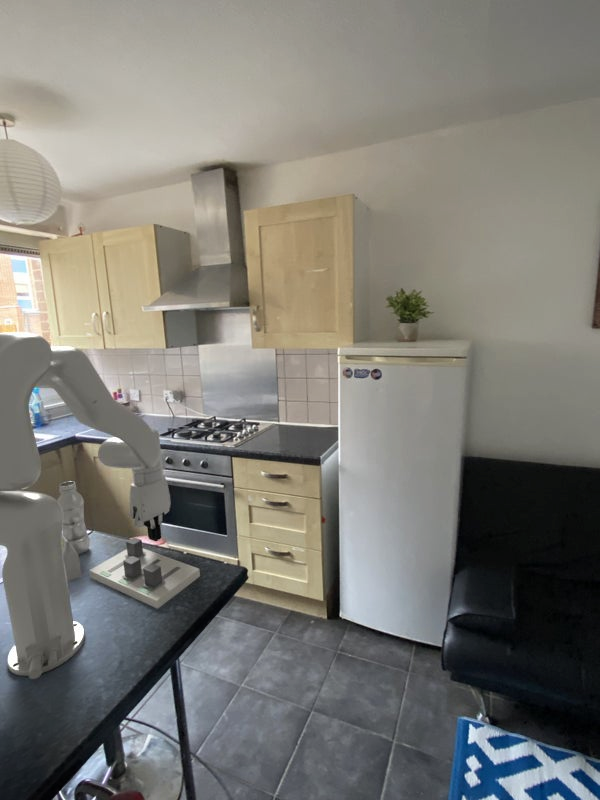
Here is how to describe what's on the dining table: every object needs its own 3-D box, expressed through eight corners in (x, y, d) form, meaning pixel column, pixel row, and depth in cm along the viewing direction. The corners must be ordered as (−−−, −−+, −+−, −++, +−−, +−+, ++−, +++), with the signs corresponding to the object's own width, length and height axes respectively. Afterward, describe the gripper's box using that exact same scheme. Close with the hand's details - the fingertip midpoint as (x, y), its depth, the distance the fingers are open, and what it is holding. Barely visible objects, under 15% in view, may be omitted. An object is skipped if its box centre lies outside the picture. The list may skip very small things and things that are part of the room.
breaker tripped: (145, 553, 106) (144, 539, 105) (134, 560, 103) (132, 545, 102) (136, 549, 108) (135, 535, 107) (124, 556, 105) (123, 542, 104)
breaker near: (165, 581, 94) (163, 565, 93) (152, 590, 91) (150, 574, 90) (154, 577, 96) (152, 561, 95) (141, 585, 93) (140, 569, 92)
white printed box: (74, 565, 106) (69, 529, 104) (81, 576, 101) (76, 539, 99) (58, 571, 104) (52, 534, 102) (64, 582, 99) (58, 545, 97)
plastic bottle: (96, 548, 113) (87, 480, 110) (74, 561, 107) (63, 490, 104) (80, 544, 116) (70, 477, 112) (58, 556, 110) (47, 486, 106)
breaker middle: (144, 573, 97) (143, 557, 97) (132, 581, 94) (130, 565, 94) (134, 569, 99) (133, 554, 98) (122, 577, 96) (120, 561, 95)
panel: (200, 576, 99) (199, 568, 99) (157, 608, 88) (156, 600, 88) (134, 551, 111) (134, 544, 111) (90, 577, 100) (89, 569, 100)
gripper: (160, 464, 115) (166, 524, 119) (113, 483, 103) (122, 549, 106) (179, 468, 112) (185, 529, 115) (133, 488, 99) (141, 556, 103)
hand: (155, 538), depth 111 cm, fingers closed
